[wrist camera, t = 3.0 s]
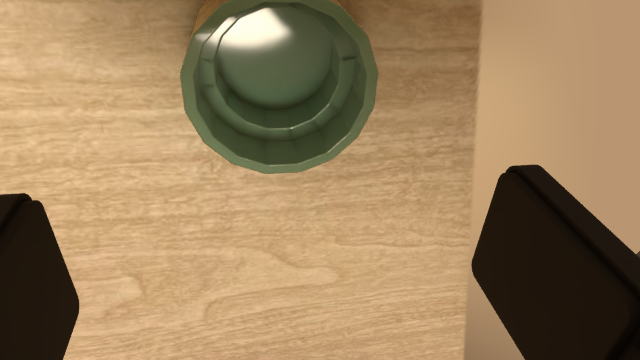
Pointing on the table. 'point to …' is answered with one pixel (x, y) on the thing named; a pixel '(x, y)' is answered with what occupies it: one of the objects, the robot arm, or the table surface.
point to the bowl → (278, 81)
